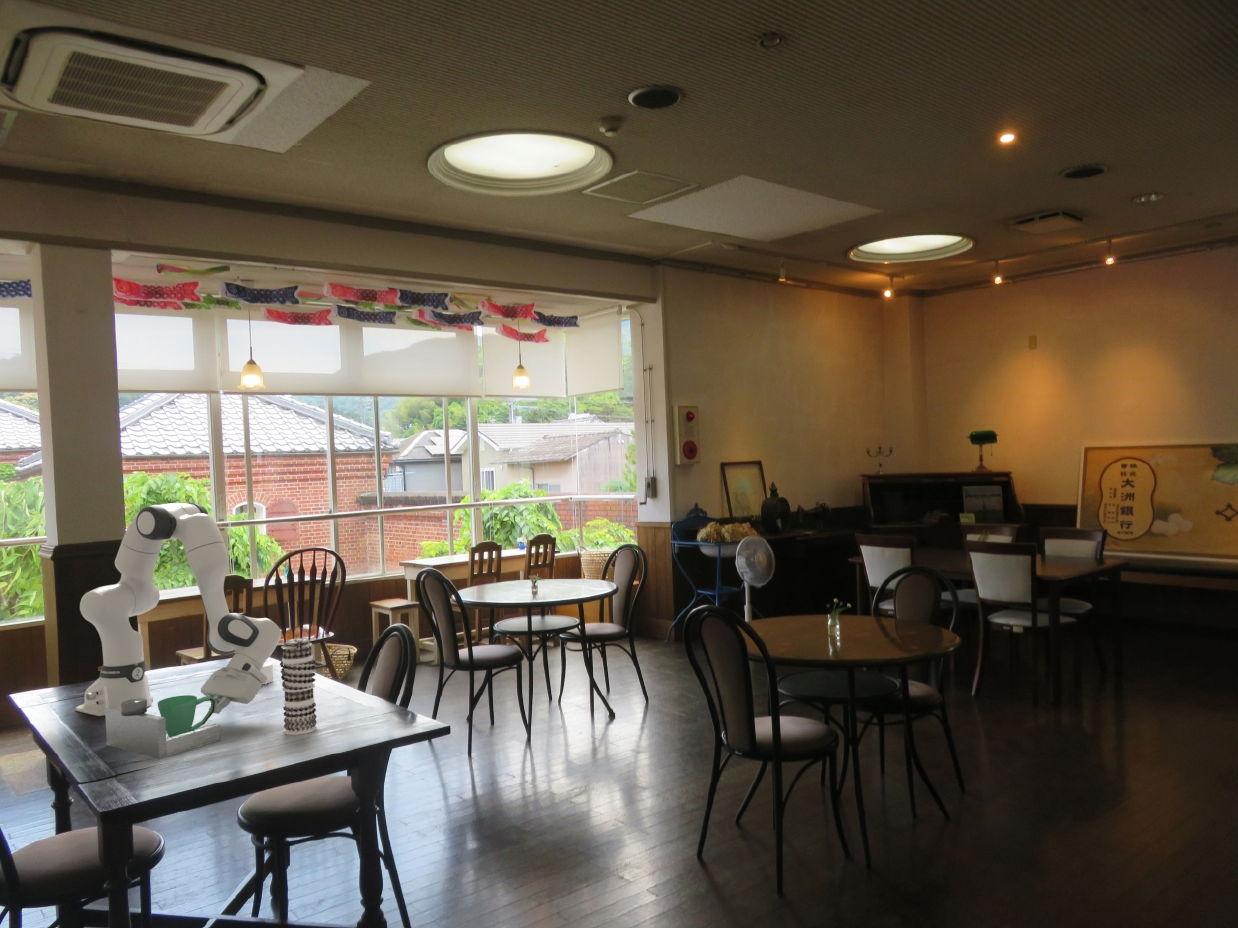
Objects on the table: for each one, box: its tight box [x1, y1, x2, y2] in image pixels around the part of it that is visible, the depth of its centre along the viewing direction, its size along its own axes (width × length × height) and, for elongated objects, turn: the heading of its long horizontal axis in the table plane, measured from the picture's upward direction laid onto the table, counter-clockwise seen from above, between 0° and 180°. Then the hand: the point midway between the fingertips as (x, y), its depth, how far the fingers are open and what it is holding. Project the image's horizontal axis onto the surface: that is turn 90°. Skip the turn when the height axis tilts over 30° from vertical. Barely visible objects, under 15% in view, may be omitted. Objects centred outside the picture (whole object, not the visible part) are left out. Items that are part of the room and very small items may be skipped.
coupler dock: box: [104, 698, 221, 760], centre depth 243 cm, size 19×25×13 cm
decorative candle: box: [279, 637, 318, 736], centre depth 250 cm, size 9×9×25 cm
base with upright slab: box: [261, 660, 274, 685], centre depth 309 cm, size 9×9×12 cm
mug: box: [157, 694, 216, 738], centre depth 250 cm, size 15×10×10 cm
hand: (213, 712), depth 256 cm, fingers closed
